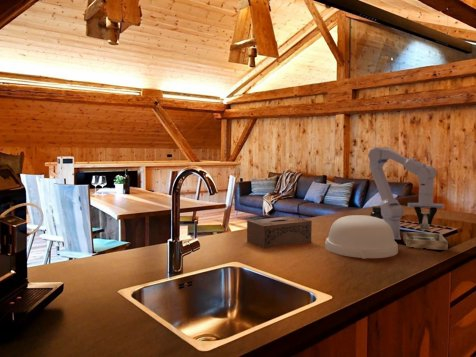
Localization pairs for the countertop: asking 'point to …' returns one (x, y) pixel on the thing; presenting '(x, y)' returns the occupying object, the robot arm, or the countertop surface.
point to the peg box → (425, 240)
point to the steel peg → (424, 221)
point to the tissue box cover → (279, 231)
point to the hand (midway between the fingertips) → (424, 224)
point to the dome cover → (361, 237)
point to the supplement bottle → (376, 212)
